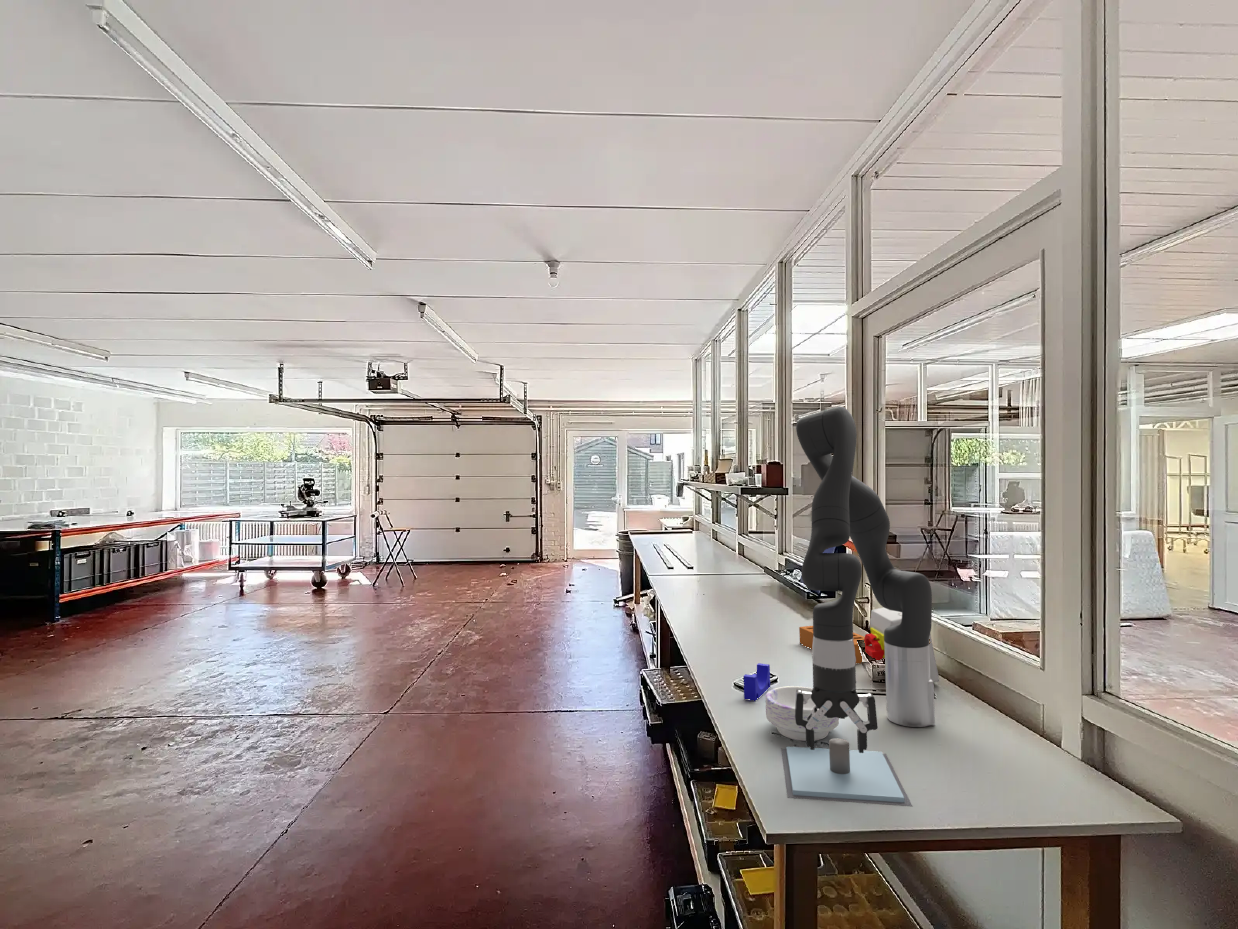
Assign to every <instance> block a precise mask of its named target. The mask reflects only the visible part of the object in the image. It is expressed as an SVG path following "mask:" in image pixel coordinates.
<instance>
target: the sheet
mask: <svg viewBox="0 0 1238 929" xmlns="http://www.w3.org/2000/svg"><path fill="white" fill-rule="evenodd" d="M785 748H786V749H787V757H788V764H789V770H790V777H791V784H792V790H793V795H801V796H816V797H831V798H845V799H860V800H875V801H889V802H904V796H903V794H902V792H901V790H900V788H899V786H898V784H897V782H896V780H895V778H894V776H893V774H892V772H891V770H890V768H889V766H888V764H887V762H886V759H885V757H884V755H883V754H884V753H883V752H882V751H879V750H878V751H877V750H876V751H875V750H864V753H859V751H858V749H850V742H849V741H848V740H847V739H843V738H837V737H836V738H835V737H834V738H831V739H829V741H828V748H823V747H822V748H821V747H820V748H819V747H818V748H817V747H814V750H810V747H806V746H805V747H803V746H802V747H799V746H788V745H787V746H786V747H785ZM904 803H905V802H904Z"/></svg>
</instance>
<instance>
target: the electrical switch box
mask: <svg viewBox="0 0 1238 929" xmlns="http://www.w3.org/2000/svg"><path fill="white" fill-rule="evenodd" d="M901 620H902V612H898V611H893V610H889V609H886V608H884V607H878V608H875V609H871V611H870V619H869V626H870V627H869V628H870V629H869V630H870V633H866V634H865V635H864V637H865V638H864V643H865V652H866V653H867V654H868V655H869V656H871V657H872V658H875V659H876V660H880V659H882V658H885V647H884V630H885V629H886V628H887V627H890V626H895V625H899V624H901ZM929 639H930V642H931V643H930V644H929V657H930V679H931V680H932V681H933V683H939V682H940V676H939V671H938V665H937V662H936V661H937V660H936V656H935V650H934V645H933V640H932V635H931V633H930V636H929ZM870 644H872V646H869V645H870Z"/></svg>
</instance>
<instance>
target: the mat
mask: <svg viewBox="0 0 1238 929" xmlns="http://www.w3.org/2000/svg"><path fill="white" fill-rule="evenodd" d="M780 749H781V750H780V751H781V757H782V758H781V759H782V765H783V773H784V774H783V775H784V779H785V790H786V797H787V798H789V799H801V800H815V801H829V802H830V801H832V802H843V803H859V804H860V803H861V804H872V805H873V804H874V805H887V806H902V807H904V806H905V807H913V804H912V802H911V800H910V799H909V796H908V794H907V792H906V791H905V789H904V787H903V784H902V783H901V781H900V778H899V776H898V775H897V773H896V771H895V769H894V767H893V765H892V762H891V760H890V759H889V757H888V755H887V753H883V755H884V757H885V759H886V762H887V764H888V766H889V768H890V770H891V772H892V774H893V776H894V778H895V780H896V782H897V784H898V786H899V788H900V790H901V792H902V794H903V796H904V802H905V803H904V802H889V801H875V800H860V799H845V798H831V797H816V796H801V795H793V790H792V784H791V777H790V770H789V764H788V757H787V749H786V747H781V748H780Z"/></svg>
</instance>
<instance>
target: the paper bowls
mask: <svg viewBox="0 0 1238 929" xmlns="http://www.w3.org/2000/svg"><path fill="white" fill-rule="evenodd" d="M797 689H801V690H802V691H804V692H812V690H813V687H807V686H800V685H799V686H797V685H789V686H779V687H774V688H772V689H769V690H768V691H767V692H766V694H765V716H766V719H767V721H768V722H769V723H770V724H771V725H774V726H775V727H776V730H777V731H778V733H779V734H780V735H782V736H784V737H785V738H788V739H791V740H795V741H804V742H806V729H805V727H803V726H798V725H797V724H796V720H795V702H796V690H797ZM815 706H816V705H815V704H814V702H813V701H812V699H809V700H808V701H807V703H806V704H803V717H804V718H807V717H808V716H809V714H810V713H811V711H812V709H813V708H814V707H815ZM819 715H820V714H819ZM839 720H840V718H837V717H834V718H827V717H826V716H823V717H822V718H821V719H820V721H818V722H817V723H816V724H815V725H814V727H813V728H814V742H815V741H820V740H823V739H824V738H826V737H827V736H828V735H829V732H831V731H834V730H835V729H836V728H838V726H839V724H840V723H839V722H840V721H839Z"/></svg>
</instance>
